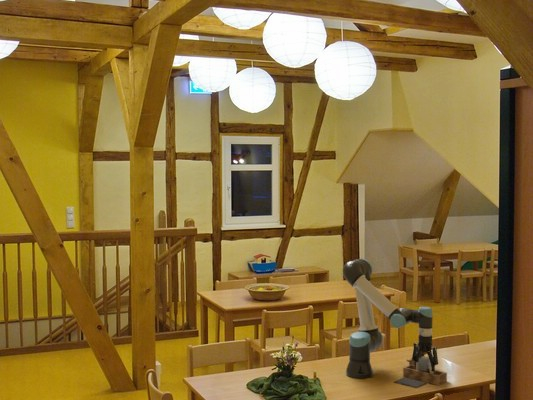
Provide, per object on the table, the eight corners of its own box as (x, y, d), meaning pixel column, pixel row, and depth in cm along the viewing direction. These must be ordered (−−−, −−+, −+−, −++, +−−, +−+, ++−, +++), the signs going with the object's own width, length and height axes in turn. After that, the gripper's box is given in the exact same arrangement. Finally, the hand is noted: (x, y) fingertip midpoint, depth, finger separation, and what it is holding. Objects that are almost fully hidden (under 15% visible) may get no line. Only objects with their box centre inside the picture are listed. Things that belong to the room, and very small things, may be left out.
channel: (403, 376, 389) (403, 367, 388) (411, 372, 395) (411, 364, 395) (438, 385, 373) (438, 376, 373) (446, 381, 380) (446, 372, 380)
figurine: (430, 367, 406) (431, 342, 405) (411, 375, 390) (412, 349, 389) (420, 364, 411) (420, 340, 410) (401, 372, 395) (401, 347, 394)
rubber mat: (394, 382, 378) (394, 381, 378) (404, 378, 385) (404, 377, 385) (416, 388, 368) (416, 387, 368) (426, 383, 376) (426, 382, 376)
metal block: (418, 378, 384) (418, 357, 383) (423, 376, 388) (423, 356, 387) (426, 380, 381) (426, 359, 380) (430, 378, 384) (431, 357, 384)
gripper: (405, 332, 387) (405, 372, 389) (438, 339, 373) (437, 380, 374) (412, 330, 393) (412, 369, 394) (445, 337, 378) (444, 377, 380)
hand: (424, 374), depth 384 cm, fingers open, 8 cm apart
